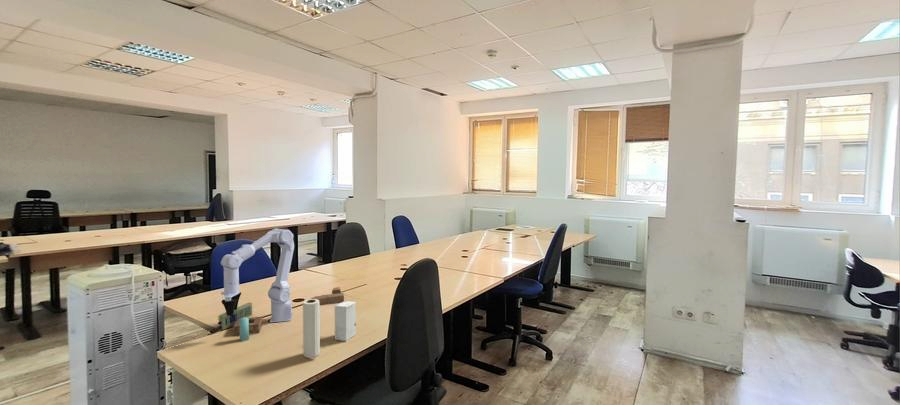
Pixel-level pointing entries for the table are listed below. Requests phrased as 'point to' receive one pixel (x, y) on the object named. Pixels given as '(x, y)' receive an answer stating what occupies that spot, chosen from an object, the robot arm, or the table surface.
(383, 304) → the table surface
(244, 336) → the peg
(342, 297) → the wooden block set
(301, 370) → the table surface
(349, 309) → the skincare box
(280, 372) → the table surface
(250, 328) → the socket block
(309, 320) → the paper towel roll
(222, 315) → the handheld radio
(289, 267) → the robot arm
